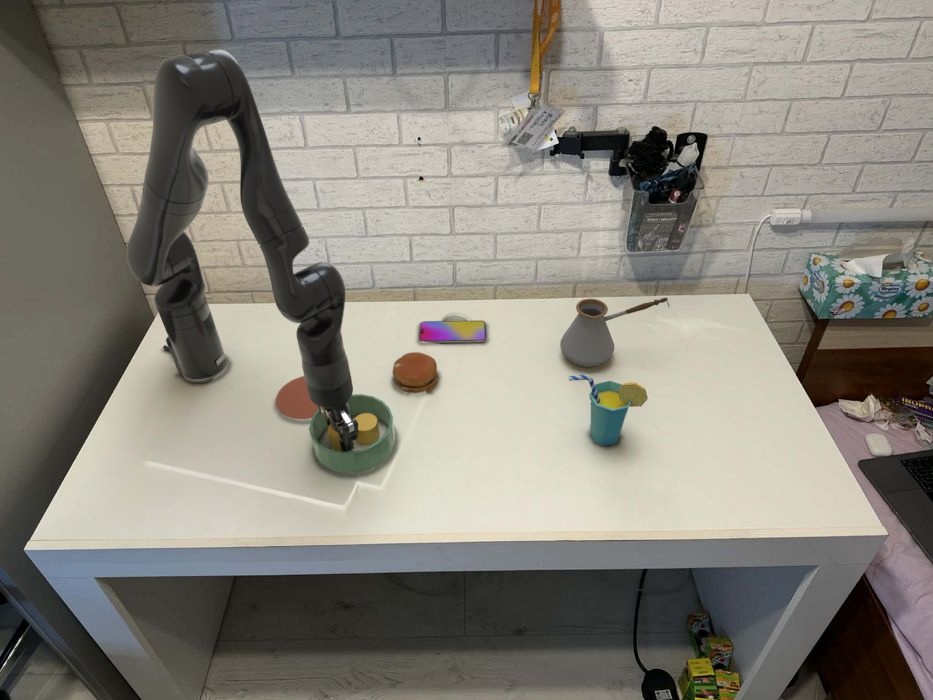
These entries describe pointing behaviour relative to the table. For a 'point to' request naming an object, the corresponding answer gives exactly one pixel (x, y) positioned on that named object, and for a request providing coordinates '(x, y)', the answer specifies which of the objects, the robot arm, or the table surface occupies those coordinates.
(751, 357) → the table surface
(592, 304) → the coffee pot
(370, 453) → the green bowl
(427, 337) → the smartphone
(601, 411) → the cup
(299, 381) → the plate
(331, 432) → the yellow cylinder
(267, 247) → the robot arm
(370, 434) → the yellow short cylinder
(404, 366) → the burger
